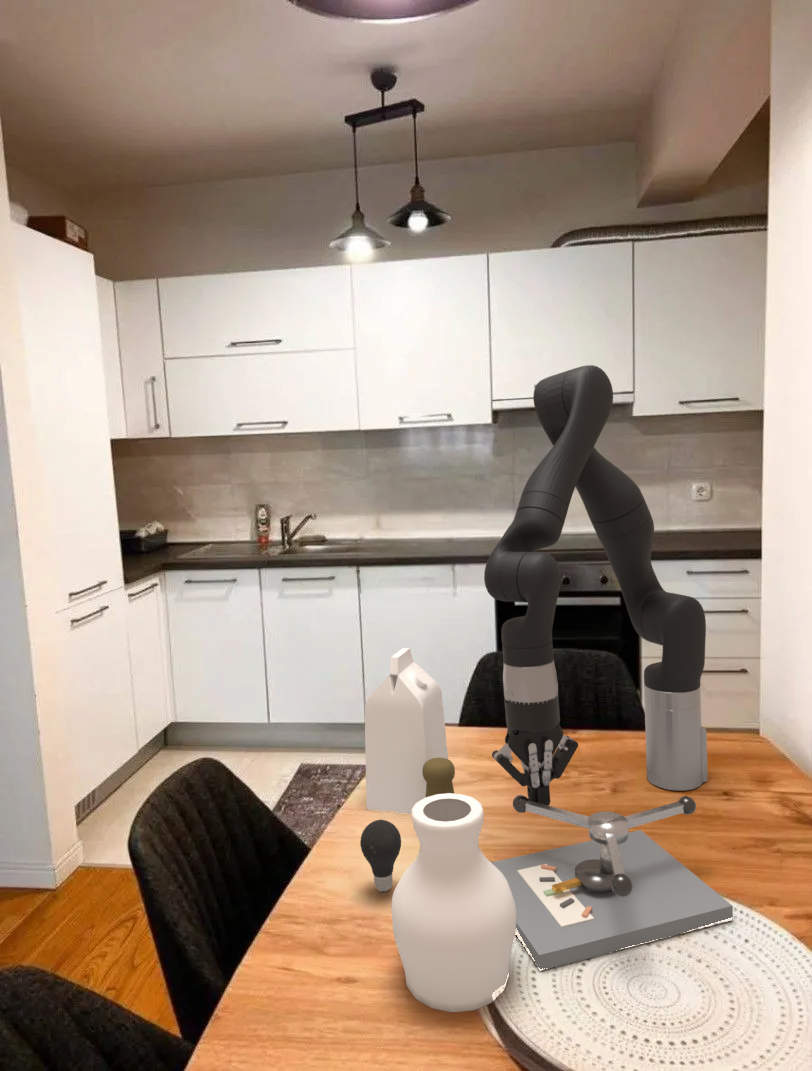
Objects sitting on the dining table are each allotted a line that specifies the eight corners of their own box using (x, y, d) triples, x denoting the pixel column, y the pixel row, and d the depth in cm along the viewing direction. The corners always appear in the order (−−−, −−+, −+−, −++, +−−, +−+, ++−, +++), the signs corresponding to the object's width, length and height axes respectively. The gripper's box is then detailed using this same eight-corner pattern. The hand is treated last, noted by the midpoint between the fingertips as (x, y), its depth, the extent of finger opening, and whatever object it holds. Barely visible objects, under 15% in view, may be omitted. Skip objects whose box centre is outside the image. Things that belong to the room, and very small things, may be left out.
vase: (431, 922, 96) (422, 772, 93) (537, 953, 88) (530, 792, 86) (371, 994, 83) (358, 824, 81) (488, 1038, 76) (477, 852, 74)
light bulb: (363, 881, 106) (358, 814, 105) (402, 877, 106) (398, 810, 105) (364, 905, 100) (359, 834, 99) (406, 900, 100) (401, 830, 99)
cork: (458, 836, 116) (454, 769, 115) (420, 835, 118) (415, 768, 116) (463, 817, 122) (459, 753, 121) (426, 816, 123) (422, 752, 122)
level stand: (640, 842, 111) (640, 826, 111) (732, 920, 92) (732, 901, 92) (477, 878, 104) (476, 862, 104) (539, 971, 85) (538, 951, 85)
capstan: (636, 811, 115) (634, 762, 114) (767, 895, 92) (767, 835, 91) (506, 847, 107) (503, 795, 106) (614, 950, 84) (612, 885, 83)
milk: (391, 779, 138) (382, 642, 136) (450, 785, 134) (442, 644, 132) (366, 809, 127) (355, 661, 124) (430, 816, 123) (421, 663, 121)
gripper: (560, 677, 111) (568, 789, 112) (477, 692, 107) (487, 807, 109) (586, 691, 103) (594, 810, 105) (497, 707, 100) (507, 830, 102)
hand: (539, 808), depth 107 cm, fingers closed
